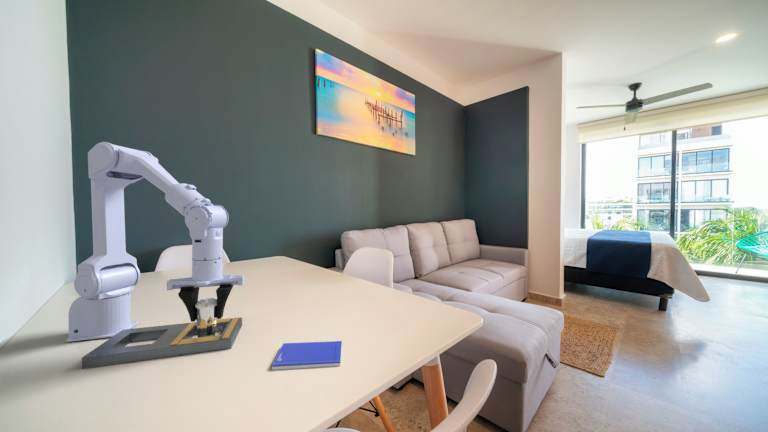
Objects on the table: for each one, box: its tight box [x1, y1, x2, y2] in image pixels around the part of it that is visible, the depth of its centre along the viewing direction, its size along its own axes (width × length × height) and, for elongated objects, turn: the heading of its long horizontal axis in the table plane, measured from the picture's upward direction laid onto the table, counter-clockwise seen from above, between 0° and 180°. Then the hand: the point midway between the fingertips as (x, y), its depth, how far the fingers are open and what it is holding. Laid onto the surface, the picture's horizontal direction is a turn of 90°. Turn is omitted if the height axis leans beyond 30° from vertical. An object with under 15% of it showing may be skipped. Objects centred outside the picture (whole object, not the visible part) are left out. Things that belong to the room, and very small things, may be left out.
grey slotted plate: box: [81, 317, 243, 370], centre depth 57 cm, size 24×12×2 cm, turn 109°
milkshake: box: [195, 297, 218, 338], centre depth 59 cm, size 4×5×10 cm
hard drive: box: [271, 340, 343, 371], centre depth 53 cm, size 2×8×12 cm
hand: (207, 318), depth 59 cm, fingers closed on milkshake, 4 cm apart
